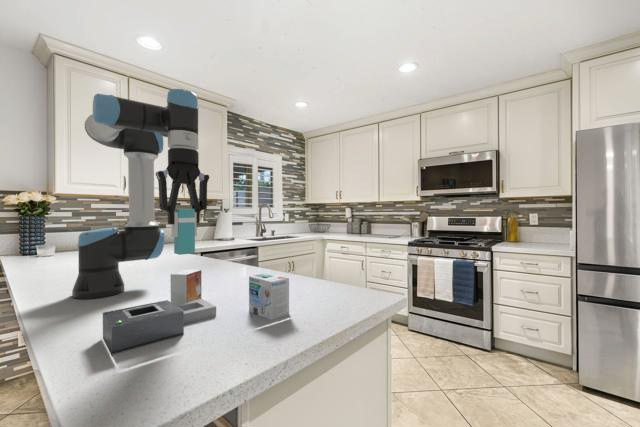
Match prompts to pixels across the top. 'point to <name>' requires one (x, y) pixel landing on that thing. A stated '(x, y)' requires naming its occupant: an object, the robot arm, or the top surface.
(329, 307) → the top surface
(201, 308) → the holster
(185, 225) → the plug
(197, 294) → the small box
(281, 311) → the light bulb box
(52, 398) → the top surface
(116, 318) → the port panel
